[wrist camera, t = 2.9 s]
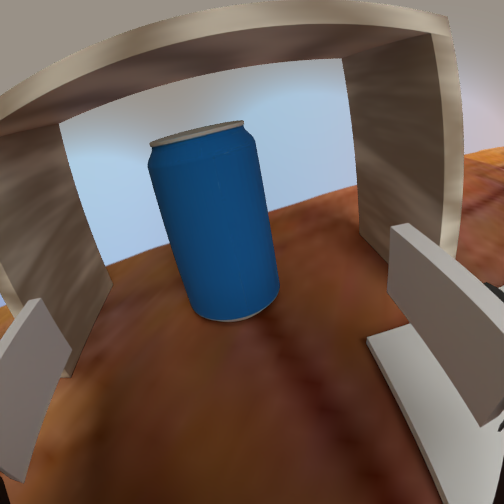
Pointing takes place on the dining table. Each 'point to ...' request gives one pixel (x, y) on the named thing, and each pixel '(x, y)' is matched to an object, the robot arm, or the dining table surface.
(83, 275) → the rectangular arch
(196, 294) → the beverage can
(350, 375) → the dining table surface
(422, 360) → the grey mat
